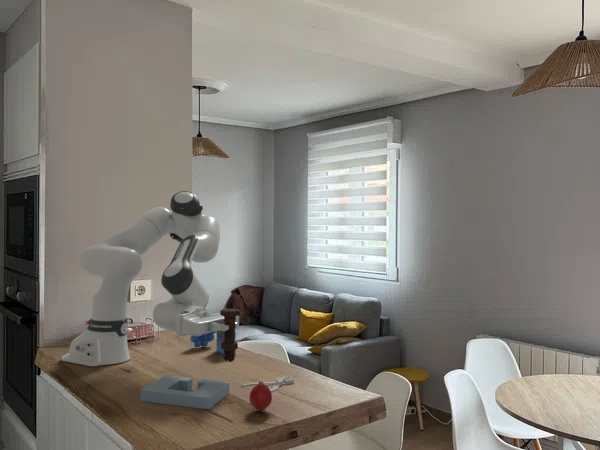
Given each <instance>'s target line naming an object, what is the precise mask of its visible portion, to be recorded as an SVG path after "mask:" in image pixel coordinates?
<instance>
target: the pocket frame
mask: <svg viewBox="0 0 600 450" xmlns="http://www.w3.org/2000/svg"><path fill="white" fill-rule="evenodd" d="M193 380H194V379H193V377H192V378H191V377H181V376H173V375H164V376H163V377H161V378H159V379H158V380H156V381H153V382H152V383H150V384H148V385H146V386H145V387H142V388H141V389H140V393H139V394H140V396H139V398H140V399H139V401H140V402H146V403H153V404H161V405H170V406H178V407H187V408H194V409H201V410H211V409H212V408H213V407H214V406H215V405H216V404H218V403H219V402H220V401H222V398H223V399H224V398H226V396H228V395H229V394H230V390H231V389H230V387H231V386H230V382H229V381H228V382H227V381H221V380H210V379H209V380H208V379H201V380H198V382H197V387H196V388H197V389H195V390H193ZM191 390H193V391H191ZM227 394H228V395H227Z"/></svg>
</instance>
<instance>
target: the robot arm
mask: <svg viewBox="0 0 600 450" xmlns="http://www.w3.org/2000/svg"><path fill="white" fill-rule="evenodd" d="M169 208H170V210H169V209H168V208H166V207H164V206H155V207H153V208H151V209H150V210H148V211H145V213H143V214H142V215H140V216H139V217H138V218H136V219H135V220H134V221H133V222H132V223H130V224H129V225H128V226H127V227H126V228H124V229H123V230H121V231H120V232H118V233H116V234H114V235H112V236H110V237H109V238H106V239H104V240H103V241H101V242H99V243H96V244H95V245H91V246H88V247H86V248H85V249H84V250H83V251H82V252H81V254H80V256H79V265H80V268H81V269H82V271H83V272H85V273H87V274H89V275H91V276H93V277H100V278H102V281H101V284H100V287H99V288H98V290H97V291H96V292H95V293H94V294H93V296H92V309H91V311H92V312H91V313H92V314H91V315H92V316H91V317H92V318H90V319H89V320H85V321H84V322H85V323H84V325H87V329H85V331H83V332H82V333H81V334H80V335H78V336H77V337H75V338H74V339H72V341H71V343H70V346H69V349H68V353H66V354H64V355H63V356H62V357H61V362H68V363H72V364H76V365H77V364H78V365H83V366H88V367H98V366H107V365H115V364H121V363H124V362H127V361H129V360H131V355H130V353H129V347H128V346H129V345H128V337H127V336H128V335H127V334H128V317H127V305H128V296H129V291H130V288H131V285H132V283H133V281H134V279H135V278H136V277H137V276H138V275H139V274H140V272H141V271H142V269H143V258H142V256H143V255H144V254H146V253H147V252H148V251H149V250H151V248H152V247H154V246H155V245H156V244H157V243H158V242H159V241H160V240H161V239H162V238H163V237H164V236H166V235H167V234H169V236H170V238H171V239H172V240H176V241H177V242H179V245H178V247H177V249H176V251H175V253H174V255H173V257H172V258H171V261H170V263H169V264H168V266H167V267H166V268H165V270H164V271H163V272H162V276H161V280H160V281H161V283H160V284H161V286H162V287H163V288H164V290H166V291H167V292H168V293H169V294H170V296H171V297H172V298H171V299H168V300H166V301H165V302H160V303H157V304H156V305H155V306H154V309H153V311H152V318H153V321H154V323H155V324H156V327H159V328H161V329H162V330H166V331H168V332H174V333H175V335H176V336H178V337H184V336H190V337H191V336H201V335H203V334H206V333H210V332H215V331H228V330H229V325H228V324H224V316H222V315H220V312H216V313H211V314H210V311H208V309H207V308H206V307H207V305H208V304H209V303H208V302H209V299H210V298H209V293H208V292H207V290H206V288H205V286H204V285H203V284H202V283H201V281H200V280H199V279H198V277H197V275H196V274H195V272H194V270H193V269H192V266H191V263H192V262H194V263H200V264H201V263H203V264H204V263H208V262H210V261H212V260H213V259H215V257H216V256H217V253H218V251H219V245H220V239H221V230H220V229H221V228H220V224H219V222H218V220H217V219H215V218H214V217H212V216H209V215H204V213H203V210H204V206H203V205H202V204H201V202H200V199H199V198H198V196H197V195H196V194H195V193H194V192H192V191H189V190H188V191H187V190H181V191H179V192H177V193H175V194H173V196H171V199H170V203H169ZM239 325H240V315H239V316H236V321H235V330H236V329H239Z"/></svg>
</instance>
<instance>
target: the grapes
mask: <svg viewBox="0 0 600 450" xmlns="http://www.w3.org/2000/svg"><path fill="white" fill-rule="evenodd" d="M215 334H217V331H215V332H210V333H206V334H203V335H201V336H190V338H189V341H190V342H191V343H193V346H194V347H195V348H196V347H198V348H200V347H201V346H206V347H207V346H208V345H209V342H211V343H212V342H213V341H214V340H215Z"/></svg>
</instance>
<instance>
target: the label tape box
mask: <svg viewBox="0 0 600 450" xmlns="http://www.w3.org/2000/svg"><path fill="white" fill-rule="evenodd" d="M224 336H225V333H224V331H217V332H216V352H217V353H220V354H222V355H223V356H224V350H223V349H222V348H221V343H222V342H224ZM236 339H237V338H236V332H235V342H237V340H236ZM236 351H237V349H236V350H235V354H234V355H235V356H236V355H237V353H236Z"/></svg>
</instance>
